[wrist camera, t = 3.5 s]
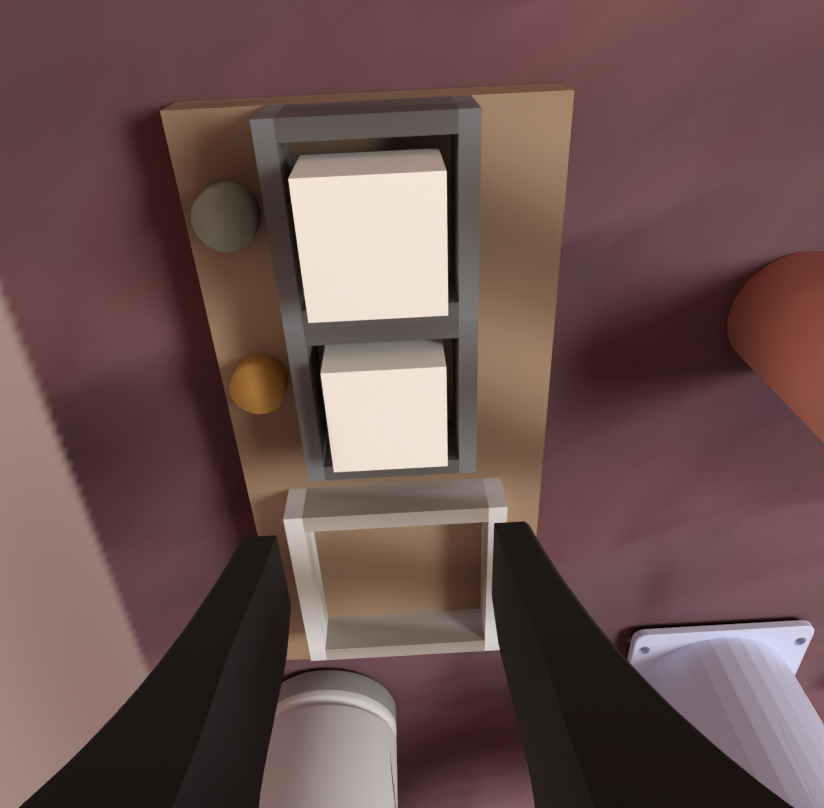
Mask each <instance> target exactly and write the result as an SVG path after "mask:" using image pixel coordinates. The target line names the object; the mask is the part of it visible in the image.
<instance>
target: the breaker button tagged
mask: <svg viewBox="0 0 824 808" xmlns="http://www.w3.org/2000/svg"><path fill="white" fill-rule="evenodd" d="M321 381H322V388H323V396H324V403H325V410H326V418H327V425H328V433H329V440H330V448H331V455H332V462H333V470H334V472H351V471H369V470H387V469H405V468H423V467H441V466H448V447H447V377H446V362H445V356H444V350H443V344H442V339H429V340H410V341H392V342H373V343H354V344H336V345H325V349H324V355H323V361H322V367H321Z"/></svg>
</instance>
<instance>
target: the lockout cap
mask: <svg viewBox="0 0 824 808" xmlns="http://www.w3.org/2000/svg"><path fill="white" fill-rule="evenodd" d="M727 334H728V338H729V342H730V344H731V346H732V348H733V349H734V350H735V352H736V353H737V354H738V355H739V356H740V357H741V358H742V359H743V360H744V361H745V362H746V363H747V364H748V365H749V366H750V367H751V368H752V369H753V370H754V372H755V373H756V374H757V375H758V376H759V377H760V378H761V379H762V380H763V381H764V382H765V383H766V384H767V385H768V386H769V387H770V388H771V389H772V390H773V391H774V392H775V393H776V394H777V395H778V396H779V397H780V398H781V399H782V400H783V401H784V402H785V403H786V404H787V405H788V407H789V408H790V409H791V410H792V411H793V412H794V413H795V414H796V415H797V416H798V417H799V418H800V419H801V420H802V421H803V422H804V423H805V424H806V425H807V426H808V427H809V428H810V429H811V430H812V431H813V432H814V433H815V434H816V435H817V436H818V437H819V438H820V439H821V440H822V442H823V443H824V252H817V251H807V252H799V253H794V254H790V255H788V256H785V257H782V258H780V259H778V260H775V261H773V262H772V263H770V264H768V265H767V266H765V267H764V268H762V269H761V270H759V271H758V272H757V273H756V274H755V275H754V276H752V277H751V278H750V279H749V280H748V281H747V282H746V284H745V285H744V286H743V287H742V289H741V290H740V291H739V293H738V294H737V296H736V298H735V299H734V301H733V304H732V306H731V308H730V311H729V315H728V320H727Z"/></svg>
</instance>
